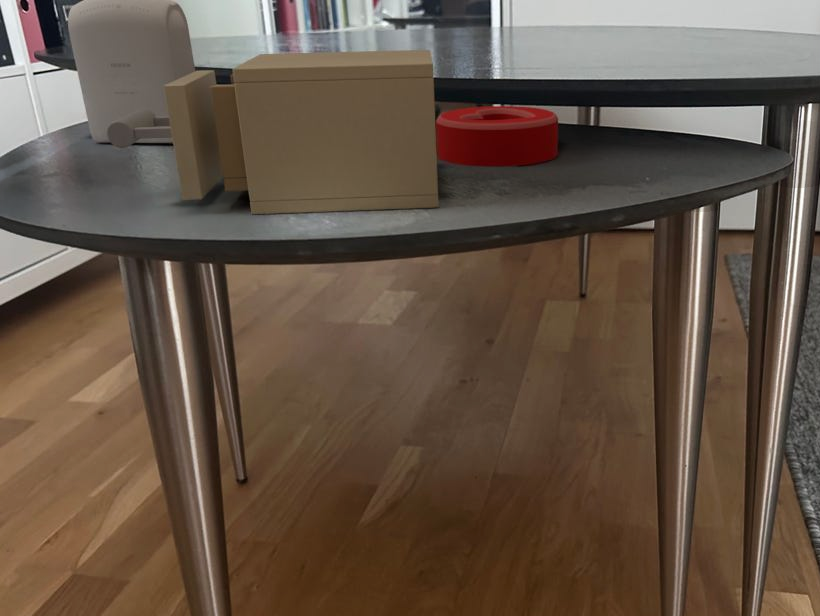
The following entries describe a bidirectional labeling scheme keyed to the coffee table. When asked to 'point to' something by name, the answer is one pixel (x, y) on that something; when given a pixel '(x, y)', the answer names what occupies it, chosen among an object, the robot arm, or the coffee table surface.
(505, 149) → the decorative ornament
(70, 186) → the coffee table surface
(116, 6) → the photo printer
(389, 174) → the cabinet
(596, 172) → the coffee table surface
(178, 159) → the drawer
